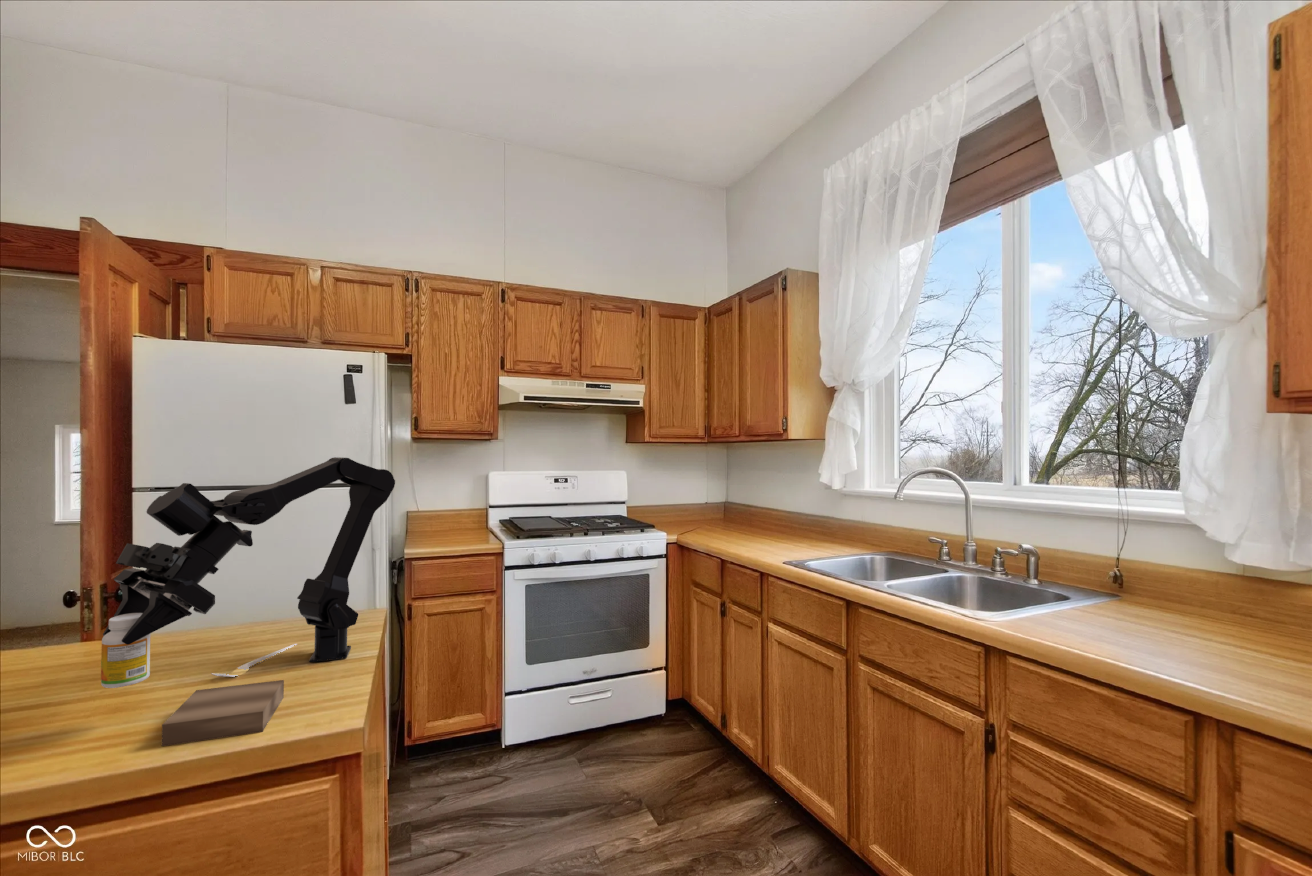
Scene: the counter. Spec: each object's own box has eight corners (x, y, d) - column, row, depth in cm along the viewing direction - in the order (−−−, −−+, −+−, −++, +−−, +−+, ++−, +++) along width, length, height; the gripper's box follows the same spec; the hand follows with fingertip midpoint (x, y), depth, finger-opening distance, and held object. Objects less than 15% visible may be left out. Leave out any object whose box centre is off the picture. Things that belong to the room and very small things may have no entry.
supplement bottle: (112, 676, 86) (114, 613, 87) (156, 671, 88) (157, 609, 88) (92, 691, 81) (93, 623, 81) (139, 685, 83) (140, 619, 83)
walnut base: (195, 708, 90) (196, 689, 90) (283, 697, 95) (283, 679, 95) (161, 746, 79) (162, 724, 79) (262, 731, 83) (263, 711, 83)
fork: (303, 647, 120) (304, 638, 120) (225, 684, 100) (225, 673, 100) (289, 647, 120) (289, 638, 120) (208, 683, 100) (208, 673, 101)
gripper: (130, 519, 93) (34, 603, 83) (192, 527, 85) (93, 621, 75) (186, 558, 100) (104, 640, 90) (249, 569, 92) (165, 660, 82)
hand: (115, 639), depth 84 cm, fingers closed on supplement bottle, 5 cm apart
